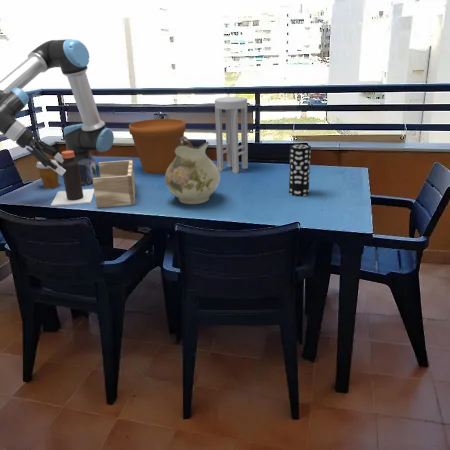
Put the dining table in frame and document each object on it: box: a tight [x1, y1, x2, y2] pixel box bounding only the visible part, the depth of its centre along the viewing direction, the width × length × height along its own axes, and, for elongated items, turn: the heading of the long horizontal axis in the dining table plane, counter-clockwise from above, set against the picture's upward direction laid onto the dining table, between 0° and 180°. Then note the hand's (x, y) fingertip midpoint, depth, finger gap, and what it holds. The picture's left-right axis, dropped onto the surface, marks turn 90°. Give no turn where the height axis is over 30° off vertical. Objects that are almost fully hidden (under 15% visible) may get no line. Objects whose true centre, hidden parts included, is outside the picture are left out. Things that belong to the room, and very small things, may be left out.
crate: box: [92, 159, 136, 208], centre depth 188 cm, size 27×15×12 cm, turn 10°
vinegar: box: [60, 150, 84, 200], centre depth 183 cm, size 7×7×20 cm
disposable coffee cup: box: [36, 158, 60, 189], centre depth 203 cm, size 10×10×12 cm
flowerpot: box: [128, 118, 186, 175], centre depth 224 cm, size 28×28×24 cm
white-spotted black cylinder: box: [288, 143, 312, 197], centre depth 182 cm, size 8×8×20 cm
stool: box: [214, 96, 249, 174], centre depth 218 cm, size 16×16×35 cm
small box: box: [78, 158, 98, 187], centre depth 208 cm, size 11×6×10 cm, turn 168°
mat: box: [50, 188, 95, 207], centre depth 189 cm, size 18×16×1 cm
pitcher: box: [164, 136, 221, 205], centre depth 178 cm, size 22×24×25 cm
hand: (66, 168), depth 182 cm, fingers open, 13 cm apart
